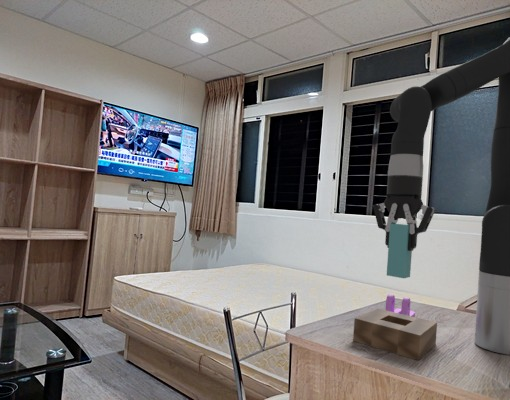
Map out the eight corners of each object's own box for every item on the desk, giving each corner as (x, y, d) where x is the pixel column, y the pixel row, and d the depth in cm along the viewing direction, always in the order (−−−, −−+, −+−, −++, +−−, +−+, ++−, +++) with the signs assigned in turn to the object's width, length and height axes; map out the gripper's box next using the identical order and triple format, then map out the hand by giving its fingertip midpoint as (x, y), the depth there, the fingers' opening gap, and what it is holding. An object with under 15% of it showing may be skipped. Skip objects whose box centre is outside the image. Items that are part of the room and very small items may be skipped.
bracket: (405, 325, 100) (407, 299, 100) (384, 320, 103) (386, 295, 103) (416, 316, 110) (418, 292, 110) (397, 311, 113) (398, 289, 114)
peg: (410, 276, 86) (413, 225, 86) (404, 278, 83) (407, 224, 83) (392, 273, 88) (396, 223, 89) (386, 275, 85) (390, 223, 85)
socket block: (435, 344, 85) (437, 322, 85) (418, 360, 74) (420, 335, 75) (376, 328, 94) (377, 308, 94) (353, 340, 83) (354, 318, 83)
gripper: (442, 177, 84) (437, 252, 84) (381, 177, 93) (376, 245, 93) (433, 173, 79) (428, 254, 78) (369, 173, 88) (364, 246, 87)
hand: (400, 248), depth 86 cm, fingers closed on peg, 4 cm apart
